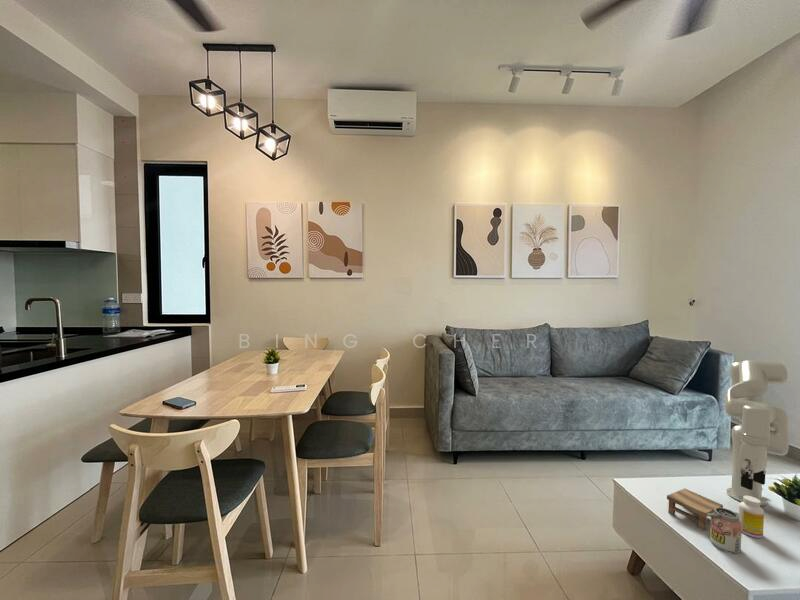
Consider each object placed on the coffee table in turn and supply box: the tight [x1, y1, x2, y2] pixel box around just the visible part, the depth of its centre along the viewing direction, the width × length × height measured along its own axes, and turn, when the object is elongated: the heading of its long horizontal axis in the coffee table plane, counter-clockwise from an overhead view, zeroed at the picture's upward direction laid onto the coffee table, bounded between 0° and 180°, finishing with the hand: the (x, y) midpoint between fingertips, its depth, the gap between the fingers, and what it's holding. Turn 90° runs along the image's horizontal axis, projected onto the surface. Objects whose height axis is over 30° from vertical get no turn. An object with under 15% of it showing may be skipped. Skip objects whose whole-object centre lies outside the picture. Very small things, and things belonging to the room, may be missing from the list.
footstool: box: [666, 488, 724, 531], centre depth 144 cm, size 13×13×7 cm
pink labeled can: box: [707, 507, 743, 554], centre depth 128 cm, size 9×8×12 cm
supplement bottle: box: [738, 496, 765, 539], centre depth 135 cm, size 7×7×13 cm
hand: (752, 485), depth 135 cm, fingers open, 9 cm apart
